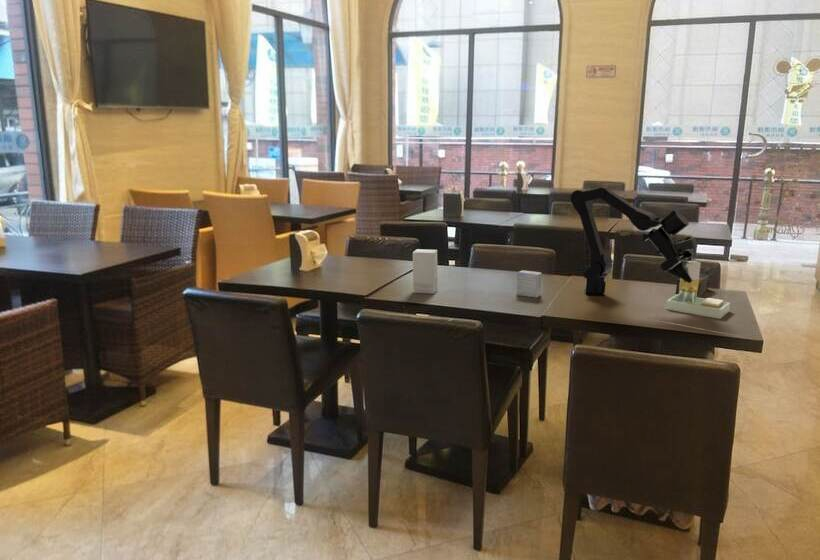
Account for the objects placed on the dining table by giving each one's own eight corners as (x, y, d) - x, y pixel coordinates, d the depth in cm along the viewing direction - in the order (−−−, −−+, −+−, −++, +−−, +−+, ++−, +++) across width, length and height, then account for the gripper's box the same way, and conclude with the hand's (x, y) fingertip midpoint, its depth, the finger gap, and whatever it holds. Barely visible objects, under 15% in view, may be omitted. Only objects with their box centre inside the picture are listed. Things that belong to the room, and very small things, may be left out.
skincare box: (437, 290, 241) (438, 249, 237) (433, 294, 235) (434, 252, 231) (416, 288, 243) (416, 248, 239) (411, 292, 237) (412, 251, 233)
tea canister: (685, 302, 215) (690, 264, 212) (674, 298, 220) (678, 260, 217) (700, 301, 216) (705, 263, 213) (688, 297, 222) (693, 260, 219)
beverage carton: (709, 289, 248) (711, 273, 246) (697, 300, 233) (699, 282, 231) (687, 286, 252) (689, 270, 251) (674, 296, 237) (676, 279, 236)
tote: (665, 310, 218) (666, 300, 217) (676, 303, 226) (677, 294, 225) (720, 320, 207) (721, 309, 207) (728, 312, 216) (730, 302, 215)
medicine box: (540, 295, 235) (542, 272, 233) (536, 298, 232) (538, 274, 230) (520, 292, 239) (521, 269, 237) (516, 295, 235) (517, 272, 233)
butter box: (700, 313, 213) (701, 301, 212) (706, 308, 218) (707, 297, 217) (716, 316, 210) (718, 304, 209) (722, 311, 215) (723, 300, 214)
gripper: (674, 232, 208) (706, 270, 204) (691, 226, 222) (721, 261, 218) (647, 252, 215) (677, 290, 210) (665, 245, 229) (694, 280, 225)
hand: (693, 280), depth 216 cm, fingers closed on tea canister, 6 cm apart
